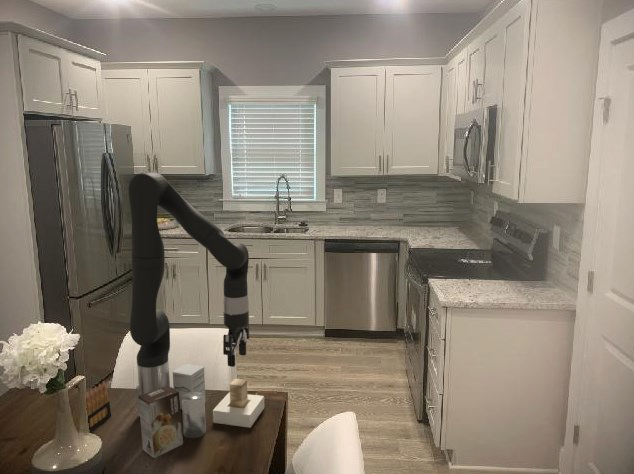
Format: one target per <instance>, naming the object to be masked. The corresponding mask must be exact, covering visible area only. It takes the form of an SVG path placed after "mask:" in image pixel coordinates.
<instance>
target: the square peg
mask: <svg viewBox="0 0 634 474" xmlns="http://www.w3.org/2000/svg"><path fill="white" fill-rule="evenodd" d="M229 392H230V407H236V408H245V407H246V405H247V404H248V396H247V394H248V379H241V378H234V379H233V380H232V381H231V382H230V383H229Z"/></svg>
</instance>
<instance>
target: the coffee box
mask: <svg viewBox="0 0 634 474" xmlns="http://www.w3.org/2000/svg"><path fill="white" fill-rule="evenodd" d="M138 399H139V410H140V416H139V418H140V431H141V442H142V443H141V444H142V450H143V451H144V452H145V453H147V455H149V456H150V457H152V458H154V459H155V458H158V457H160V456H162V455H164V454H166V453H168V452H170V451H171V450H175V449H176V448H178V447H181V446H182V445H183V444H184V440H183V439H184V438H183V436H184V435H183V422H182V414H181V413H182V412H181V410H182V409H180V397H179V391H177V390H175V389H174V388H173V387H172V386H170V387H169V386H168V385H167V386H164V387H161V388H159V389H156V390H153V391H151V392H148V393H146V394H143V395H140V396H138Z"/></svg>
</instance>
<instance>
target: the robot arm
mask: <svg viewBox="0 0 634 474" xmlns="http://www.w3.org/2000/svg"><path fill="white" fill-rule="evenodd" d="M128 198H129V207H130V217H131V279H132V280H131V286H132V287H131V293H132V295H131V297H132V298H131V308H130V309H131V310H130V319H129V320H130V321H129V333H130V336H131V338H132V340H133V342H134V343H135V344H137V345H138V346H140V348H139V350H138V352H137V354H136V366H137V368H136V369H137V380H138V381H137V382H138V385H137V386H136V388H135V390H136V391H135V393H136V405H137V416H138V417H140V410H139V399H138V396H140V395H143V394H146V393H148V392H151V391H153V390H156V389H159V388H161V387H164V386H167V385H168V386H169V387H171V380H170V379H171V378H170V365H169V364H170V363H169V362H170V361H169V353H170V349H171V331H170V322H169V318H168V316H167V314H166V313H165V312H164V311H163V310H162V309H159V308H157V299H158V294H159V291H160V289H161V285H162V281H163V277H164V273H165V266H166V265H165V259H166V257H165V246H164V241H163V239H162V236H161V232H160V229H159V225H158V207H161V208H162V209H163V210H165V211H166V212H167V213H169V214H170V215H171V216H172V217H173V218H174V219H175V220H176V221H177V222H178V224H179V225H180V226H181V227H182V229H183V230H184V231H185V232H186V233H187V234H188V235H189V236H190V237H191V238H192V239H194V240H195V241H196V242H197V243H198V244H200V245H201V246H203V248H205V249H207V251H209V253H210V254H211V255H212V256H213V258H214V259H215V260H216V261H217V262H218V263H220V265H221V266H223V267H224V268H225V275H224V277H223V278H224V279H223V301H222V304H223V305H222V307H223V308H222V309H223V325H224V326H225V327H226V328H227V329H228V332H227V334H224V335H223V336H222V337H223V339H222V340H223V341H222V345H223V347H222V349H223V352H222V353H223V356H227V366H228V367H233V368H234V367H235V366H236V351H237V349H238V355H239V356H246V355H247V343H248V340H250V314H249V312H250V311H249V309H250V308H249V296H248V295H249V292H248V291H249V290H248V273H249V271H248V270H249V257H250V256H249V250H248V248H247V246H246V245H245V244H243V243H242V242H239V241H238V242H237V241H236V242H235V241H234V242H232V241H230V240H229V239H228V238H227V237H226V236H225V234H224V232H223V230H222V229H221V228H220V227H218V226H217V224H215V223H213V222H212V221H211V220H209V218H207V217H206V216H204V215H203V214H202V213H201V212H200V211H198V210H197V209H196V208H195V207H193V206H192V205H191V204H190V203H189V202H188V201H187V200H186V199H184V197H183V196H182V195H181V194H180V193H179V192H178V191H177V190H176V189H175V188H174V186H173V185H172V184H170V182H169V181H168V179H166V178H165V177H164V176H163V175H162V174H160V173H158V172H155V171H154V172H153V171H147V172H141V173H140V172H139V173H137V174H135V175H134V176H132V178H131V180H130V181H129V183H128Z"/></svg>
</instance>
